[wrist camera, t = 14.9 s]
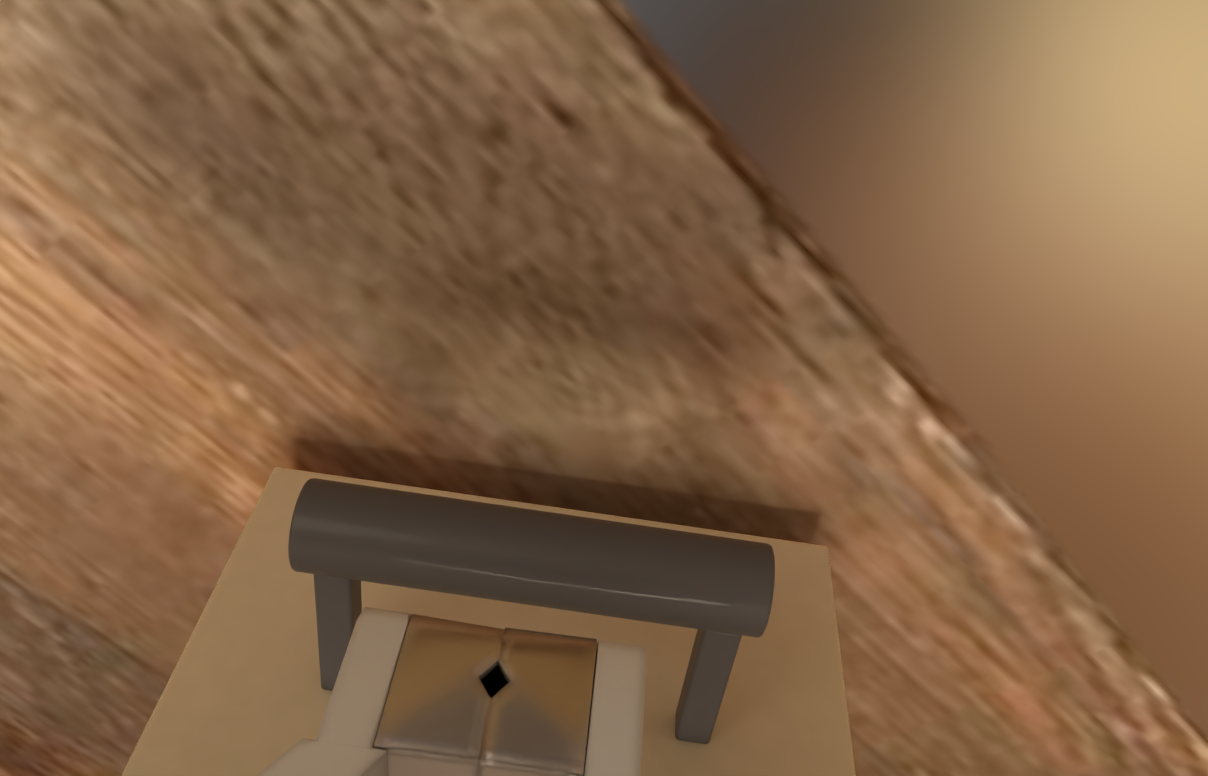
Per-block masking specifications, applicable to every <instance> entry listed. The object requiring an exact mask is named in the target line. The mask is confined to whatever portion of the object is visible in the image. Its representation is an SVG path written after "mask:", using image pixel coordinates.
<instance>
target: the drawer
mask: <svg viewBox="0 0 1208 776" xmlns="http://www.w3.org/2000/svg"><path fill="white" fill-rule="evenodd" d="M365 607H369V608H376V609H382V610H389V611H395V612H402V613H409V614H416V615H422V616H428V617H434V618H440V619H446V620H452V621H458V622H464V623H470V624H476V625H482V626H489V627H495V628H501V629H505V627H506V628H514V629H521V630H529V631H537V632H545V633H553V634H561V635H569V636H577V637H585V638H593V639H597V642H598V641H599V640H601V641H608V642H615V643H622V644H629V645H637V646H644V648H645V651H646V654H647V664H646V683H645V702H644V721H643V740H642V759H641V776H856V774H855V766H854V757H853V749H852V741H851V733H850V724H849V716H848V708H847V700H846V691H845V683H844V675H843V667H842V658H841V650H840V642H839V634H838V625H837V617H836V609H835V601H834V592H833V584H832V576H831V568H830V559H829V551H828V547H826V546H823V545H816V544H809V543H802V542H795V541H788V540H781V539H774V538H767V537H760V536H753V535H746V534H739V533H733V532H726V531H719V530H712V529H705V528H698V527H691V526H684V525H677V524H670V523H663V522H656V521H649V520H642V519H635V518H628V517H621V516H615V515H608V514H601V513H594V512H587V511H580V510H573V509H566V508H559V507H552V506H545V505H538V504H531V503H524V502H517V501H510V500H503V499H497V498H490V497H483V496H476V495H469V494H462V493H455V492H448V491H441V490H434V489H427V488H420V487H413V486H406V485H399V484H392V483H385V482H379V481H372V480H365V479H358V478H351V477H344V476H337V475H330V474H323V473H316V472H309V471H302V470H295V469H288V468H281V467H275V468H274V469H273V471H272V473H271V475H270V477H269V479H268V481H267V483H266V485H265V487H264V489H263V491H262V493H261V495H260V497H259V499H258V501H257V503H256V505H255V507H254V509H253V512H252V514H251V516H250V518H249V520H248V522H247V524H246V526H245V528H244V530H243V532H242V534H241V536H240V538H239V540H238V542H237V544H236V546H235V548H234V550H233V552H232V554H231V556H230V558H229V560H228V562H227V564H226V566H225V568H224V570H223V572H222V574H221V576H220V578H219V580H218V582H217V584H216V586H215V588H214V590H213V592H212V594H211V596H210V598H209V600H208V602H207V604H206V606H205V608H204V610H203V612H202V614H201V616H200V618H199V620H198V622H197V624H196V626H195V628H194V630H193V632H192V634H191V636H190V638H189V640H188V642H187V644H186V646H185V648H184V650H183V652H182V654H181V656H180V659H179V661H178V663H177V665H176V667H175V669H174V671H173V673H172V675H171V677H170V679H169V681H168V683H167V685H166V687H165V689H164V691H163V693H162V695H161V697H160V699H159V701H158V703H157V705H156V707H155V709H154V711H153V713H152V715H151V717H150V719H149V721H148V723H147V725H146V727H145V729H144V731H143V733H142V735H141V737H140V739H139V741H138V743H137V745H136V747H135V749H134V751H133V753H132V755H131V757H130V759H129V761H128V763H127V765H126V767H125V769H124V771H123V773H122V775H121V776H257V775H258V774H259V773H260V772H261V771H263V770H264V769H265V768H266V767H268V766H269V765H270V764H271V763H272V762H274V761H275V760H276V759H277V758H278V757H280V756H281V755H282V754H283V753H284V752H286V751H287V750H288V749H289V748H291V747H292V746H293V745H294V744H295V743H297V742H298V741H299V740H300V739H301V738H302V739H311V740H316V738H317V735H318V732H319V729H320V726H321V723H322V720H323V717H324V714H325V712H326V709H327V706H328V703H329V700H330V697H331V694H332V691H333V688H334V685H335V682H336V679H337V676H338V673H339V671H340V668H341V665H342V662H343V659H344V656H345V653H346V650H347V647H348V644H349V641H350V638H351V635H352V633H353V630H354V627H355V624H356V621H357V619H358V617H359V616H360V614H361V613H362V611H363V609H364V608H365Z"/></svg>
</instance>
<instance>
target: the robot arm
mask: <svg viewBox="0 0 1208 776" xmlns="http://www.w3.org/2000/svg"><path fill="white" fill-rule="evenodd" d="M646 664H647V654H646V651H645V648H644V646H637V645H629V644H622V643H615V642H608V641H601V640H599V641H598V642H597V639H593V638H585V637H577V636H569V635H561V634H553V633H545V632H537V631H529V630H521V629H514V628H506V627H505V629H501V628H495V627H489V626H482V625H476V624H470V623H464V622H458V621H452V620H446V619H440V618H434V617H428V616H422V615H416V614H409V613H402V612H395V611H389V610H382V609H376V608H369V607H365V608H364V609H363V611H362V613H361V614H360V616H359V617H358V619H357V621H356V624H355V627H354V630H353V633H352V635H351V638H350V641H349V644H348V647H347V650H346V653H345V656H344V659H343V662H342V665H341V668H340V671H339V673H338V676H337V679H336V682H335V685H334V688H333V691H332V694H331V697H330V700H329V703H328V706H327V709H326V712H325V714H324V717H323V720H322V723H321V726H320V729H319V732H318V735H317V738H316V740H311V739H302V738H301V739H300V740H299V741H298V742H297V743H295V744H294V745H293V746H292V747H291V748H289V749H288V750H287V751H286V752H284V753H283V754H282V755H281V756H280V757H278V758H277V759H276V760H275V761H274V762H272V763H271V764H270V765H269V766H268V767H266V768H265V769H264V770H263V771H261V772H260V773H259V774H258V775H257V776H641V759H642V740H643V721H644V702H645V683H646Z"/></svg>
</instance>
